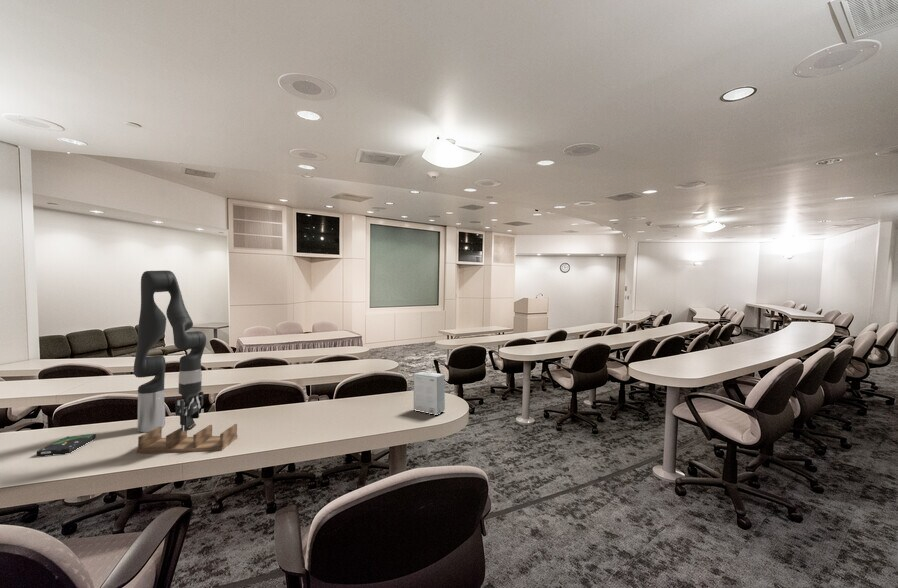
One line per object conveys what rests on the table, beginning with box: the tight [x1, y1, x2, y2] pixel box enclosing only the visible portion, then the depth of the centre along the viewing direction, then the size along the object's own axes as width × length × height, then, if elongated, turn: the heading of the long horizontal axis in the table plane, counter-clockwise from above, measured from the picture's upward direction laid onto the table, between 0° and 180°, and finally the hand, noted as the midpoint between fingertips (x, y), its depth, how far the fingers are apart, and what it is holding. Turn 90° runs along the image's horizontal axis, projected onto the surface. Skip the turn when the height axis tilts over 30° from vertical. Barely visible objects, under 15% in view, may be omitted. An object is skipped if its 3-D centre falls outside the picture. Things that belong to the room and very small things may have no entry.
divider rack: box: [136, 423, 238, 454], centre depth 142 cm, size 12×31×6 cm, turn 95°
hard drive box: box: [413, 371, 446, 415], centre depth 184 cm, size 16×8×20 cm, turn 58°
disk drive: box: [36, 433, 97, 457], centre depth 140 cm, size 10×3×15 cm
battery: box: [180, 400, 198, 432], centre depth 142 cm, size 7×4×11 cm, turn 16°
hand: (189, 421), depth 142 cm, fingers closed on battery, 7 cm apart
